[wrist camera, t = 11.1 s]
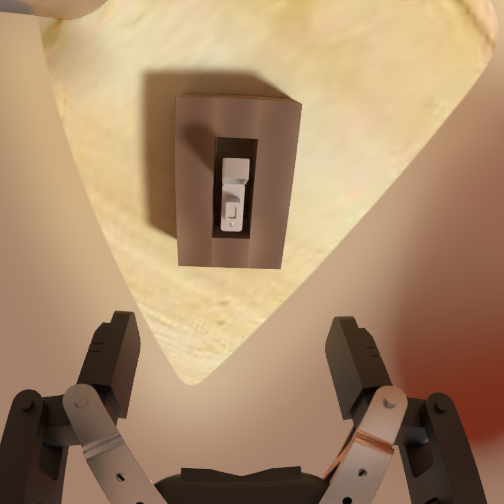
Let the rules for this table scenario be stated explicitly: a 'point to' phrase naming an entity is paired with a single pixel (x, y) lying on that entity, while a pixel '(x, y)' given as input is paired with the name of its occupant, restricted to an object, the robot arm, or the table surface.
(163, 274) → the table surface
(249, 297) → the table surface
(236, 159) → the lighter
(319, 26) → the table surface
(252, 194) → the slot stand
